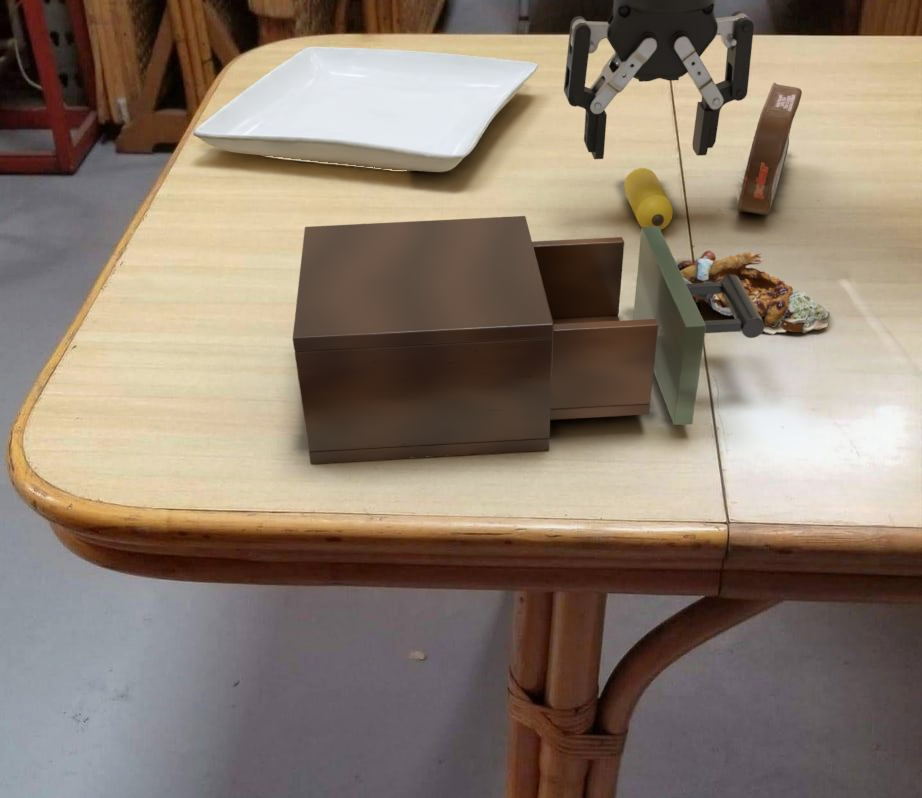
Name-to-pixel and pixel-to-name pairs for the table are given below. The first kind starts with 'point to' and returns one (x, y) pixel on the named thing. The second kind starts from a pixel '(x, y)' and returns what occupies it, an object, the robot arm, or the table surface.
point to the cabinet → (422, 340)
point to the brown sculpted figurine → (757, 293)
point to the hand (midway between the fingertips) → (648, 154)
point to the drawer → (629, 327)
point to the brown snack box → (769, 150)
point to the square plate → (369, 108)
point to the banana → (648, 199)
